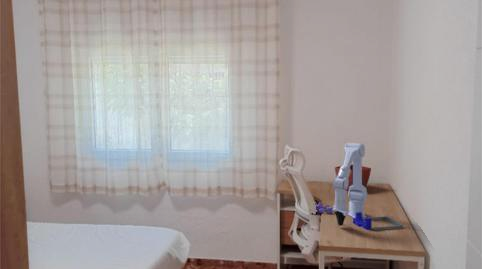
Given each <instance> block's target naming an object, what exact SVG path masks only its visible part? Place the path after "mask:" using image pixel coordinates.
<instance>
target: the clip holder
mask: <svg viewBox="0 0 482 269" xmlns="http://www.w3.org/2000/svg"><path fill="white" fill-rule="evenodd" d="M365 218H366V217H365ZM365 218H363V220H364V221H365ZM370 218H372V221H384V220H386V221H388V222H390V223H391V224H393V225H386V226H385V225H383V226H373V229H372V230H373V231H384V230H396V229H397V230H399V229H403V226H404V224H403V223H400V222H399V221H397V220H395V219H394V218H392V217H390V216H388V215H385V216H375V217H370ZM383 219H384V220H383Z"/></svg>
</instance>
